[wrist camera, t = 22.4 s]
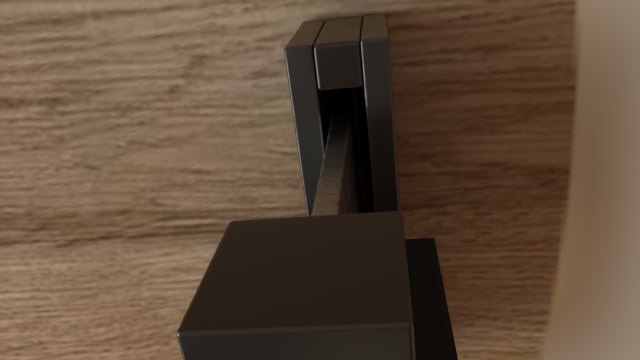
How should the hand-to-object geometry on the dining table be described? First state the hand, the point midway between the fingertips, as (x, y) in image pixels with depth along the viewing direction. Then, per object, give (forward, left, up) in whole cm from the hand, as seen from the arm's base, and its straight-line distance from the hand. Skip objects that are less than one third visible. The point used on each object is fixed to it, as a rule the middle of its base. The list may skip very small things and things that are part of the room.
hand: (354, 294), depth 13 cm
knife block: (0, 0, -5) cm, 5 cm away
